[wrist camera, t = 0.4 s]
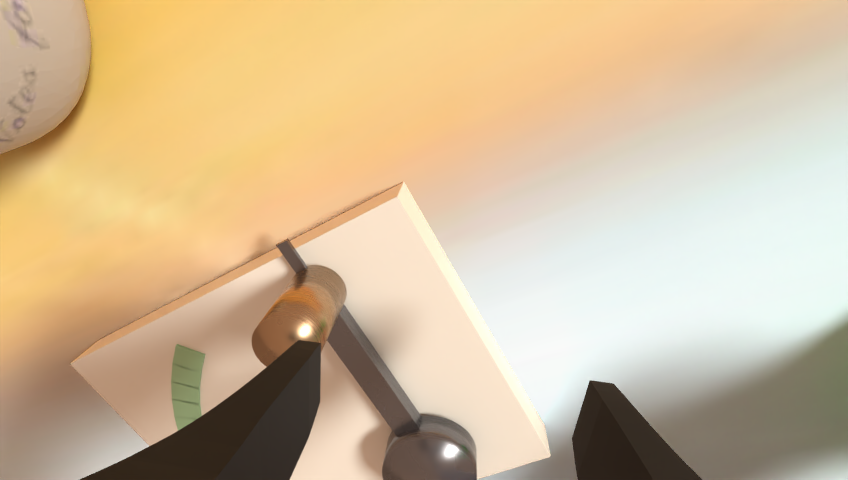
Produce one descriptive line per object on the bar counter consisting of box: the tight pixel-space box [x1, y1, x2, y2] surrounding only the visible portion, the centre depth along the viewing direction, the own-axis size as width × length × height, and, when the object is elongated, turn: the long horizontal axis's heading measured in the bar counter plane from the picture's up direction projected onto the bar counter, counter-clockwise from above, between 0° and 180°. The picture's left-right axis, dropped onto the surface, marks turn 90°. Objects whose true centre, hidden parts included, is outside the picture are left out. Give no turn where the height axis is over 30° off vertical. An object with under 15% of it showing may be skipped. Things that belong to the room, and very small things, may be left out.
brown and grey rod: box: [251, 239, 477, 480], centre depth 20 cm, size 15×4×4 cm, turn 29°
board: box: [70, 182, 551, 480], centre depth 24 cm, size 15×19×2 cm
